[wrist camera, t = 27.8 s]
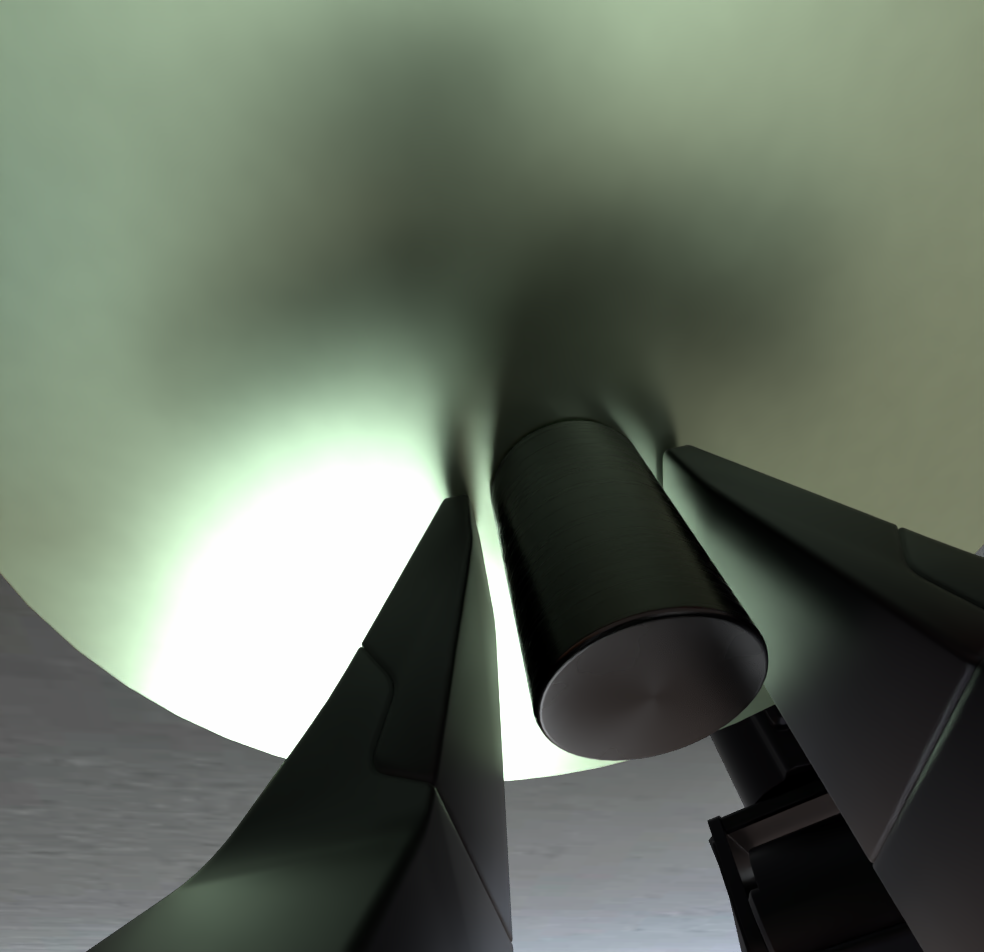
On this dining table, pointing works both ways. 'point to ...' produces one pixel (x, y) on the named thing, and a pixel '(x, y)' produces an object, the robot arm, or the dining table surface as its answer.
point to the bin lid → (472, 329)
